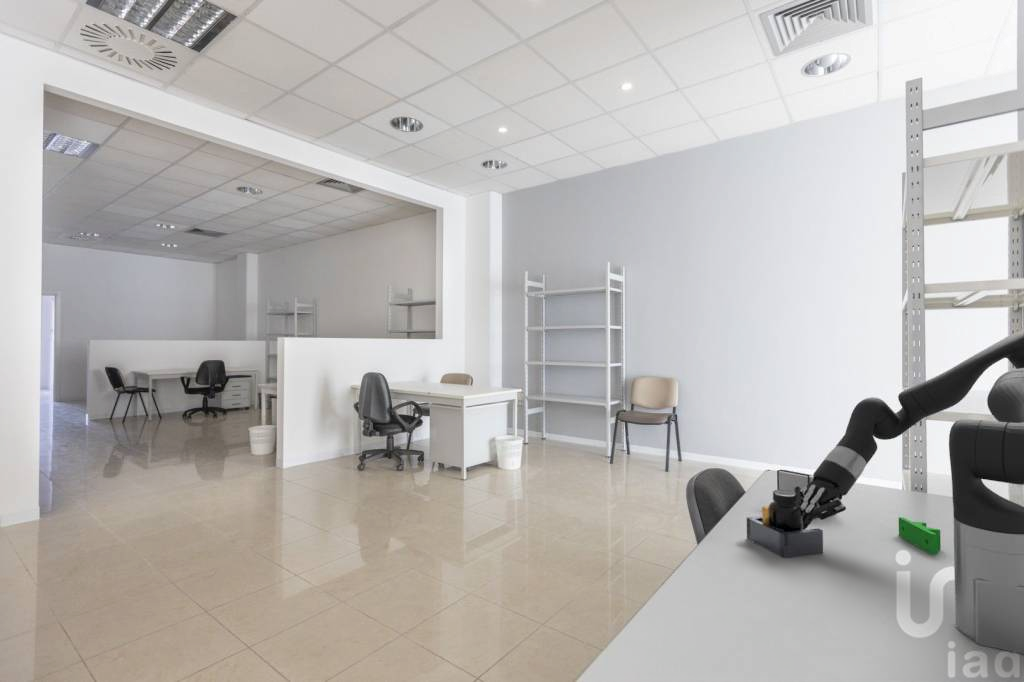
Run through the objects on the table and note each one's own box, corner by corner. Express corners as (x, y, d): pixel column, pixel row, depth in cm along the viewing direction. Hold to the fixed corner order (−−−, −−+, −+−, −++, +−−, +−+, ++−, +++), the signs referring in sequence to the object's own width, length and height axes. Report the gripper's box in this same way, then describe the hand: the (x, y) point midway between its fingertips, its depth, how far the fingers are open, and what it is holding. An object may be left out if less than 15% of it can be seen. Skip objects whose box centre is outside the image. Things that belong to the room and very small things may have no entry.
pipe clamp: (950, 556, 109) (950, 535, 109) (931, 555, 109) (931, 534, 109) (915, 536, 120) (915, 517, 120) (898, 535, 120) (898, 516, 120)
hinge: (836, 513, 137) (835, 476, 137) (832, 518, 133) (832, 480, 133) (779, 503, 146) (779, 468, 146) (774, 508, 142) (774, 472, 142)
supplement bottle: (770, 549, 113) (767, 495, 112) (770, 537, 119) (767, 486, 119) (805, 553, 110) (802, 498, 109) (803, 540, 116) (800, 488, 115)
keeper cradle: (783, 534, 121) (782, 497, 121) (823, 553, 110) (822, 511, 110) (746, 538, 118) (745, 500, 119) (783, 558, 107) (782, 515, 108)
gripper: (875, 488, 113) (831, 548, 109) (825, 473, 125) (785, 527, 122) (855, 465, 111) (810, 526, 108) (807, 453, 124) (766, 507, 121)
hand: (797, 527), depth 115 cm, fingers closed
